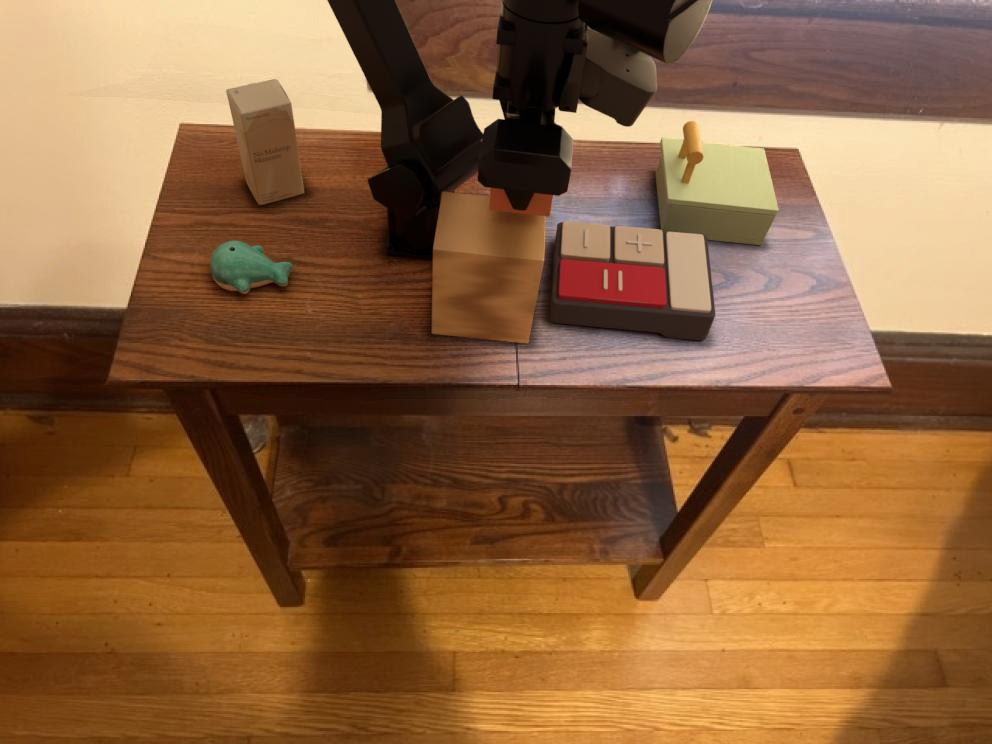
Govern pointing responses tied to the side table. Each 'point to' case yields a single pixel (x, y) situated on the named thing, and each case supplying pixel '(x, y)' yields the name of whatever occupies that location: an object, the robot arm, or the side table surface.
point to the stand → (485, 270)
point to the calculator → (632, 280)
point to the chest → (711, 219)
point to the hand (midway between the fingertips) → (522, 188)
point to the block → (536, 207)
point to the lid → (716, 174)
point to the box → (266, 140)
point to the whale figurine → (246, 267)
